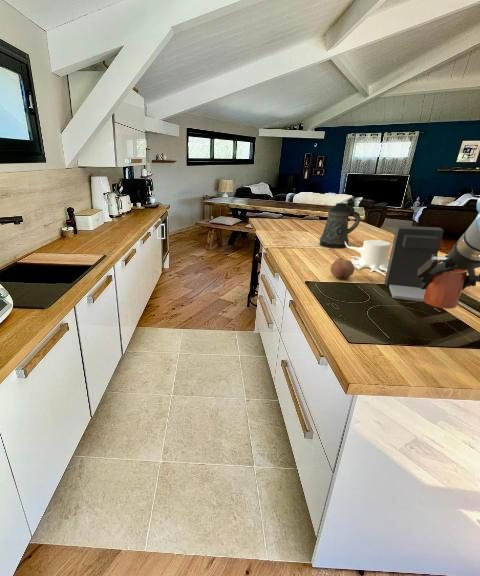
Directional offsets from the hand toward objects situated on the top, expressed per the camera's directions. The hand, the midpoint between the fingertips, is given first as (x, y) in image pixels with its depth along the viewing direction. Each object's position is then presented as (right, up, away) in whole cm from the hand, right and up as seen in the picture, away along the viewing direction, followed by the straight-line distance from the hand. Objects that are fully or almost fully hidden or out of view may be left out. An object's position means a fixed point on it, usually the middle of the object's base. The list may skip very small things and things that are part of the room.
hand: (440, 287), depth 95 cm
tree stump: (+14, +11, +60) cm, 63 cm away
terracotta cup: (-1, -5, -1) cm, 5 cm away
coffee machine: (+9, -2, +28) cm, 29 cm away
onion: (-9, +4, +44) cm, 45 cm away
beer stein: (+13, +26, +97) cm, 102 cm away
